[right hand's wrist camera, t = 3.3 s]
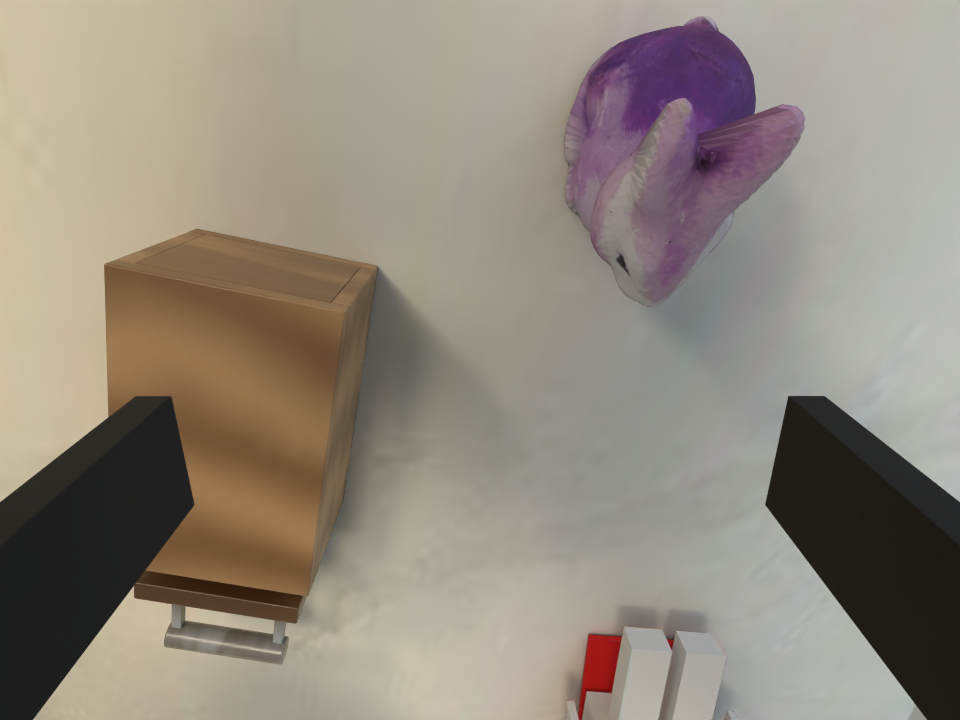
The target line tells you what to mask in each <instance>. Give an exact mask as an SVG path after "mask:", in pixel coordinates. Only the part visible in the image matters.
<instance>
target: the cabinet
mask: <svg viewBox="0 0 960 720" xmlns="http://www.w3.org/2000/svg"><path fill="white" fill-rule="evenodd" d="M377 269H378V266H375V265H370V264H365V263H360V262H355V261H350V260H345V259H341V258H336V257H331V256H326V255H321V254H316V253H311V252H307V251H302V250H297V249H292V248H287V247H282V246H277V245H273V244H268V243H263V242H258V241H253V240H248V239H243V238H239V237H234V236H229V235H224V234H219V233H214V232H209V231H204V230H200V229H195V230H192V231H190V232H188V233H185V234H183V235H180V236H177V237H175V238H172V239H169V240H167V241H164V242H161V243H159V244H156V245H154V246H151V247H148V248H146V249H143V250H140V251H138V252H135V253H132V254H130V255H127V256H124V257H122V258H119V259H117V260H114V261H111V262H109V263H106V264H105V265H104V272H105V308H106V343H107V379H108V414H109V417H110V416H111V415H112V414H113V413H115V412H116V411H117V410H119V409H120V408H121V407H122V406H124V405H125V404H126V403H127V402H129V401H130V400H131V399H133V398H134V397H135V396H172V401H173V405H174V410H175V415H176V419H177V424H178V429H179V433H180V438H181V443H182V448H183V452H184V457H185V462H186V466H187V471H188V476H189V480H190V485H191V490H192V495H193V499H194V504H195V505H194V506H193V508H192V509H191V510H190V512H189V513H188V514H187V516H186V517H185V518H184V520H183V521H182V522H181V524H180V525H179V526H178V528H177V529H176V530H175V532H174V533H173V534H172V536H171V537H170V538H169V540H168V541H167V542H166V544H165V545H164V546H163V548H162V549H161V550H160V552H159V553H158V554H157V556H156V557H155V558H154V560H153V561H152V562H151V564H150V565H149V566H148V568H147V569H146V571H152V572H159V573H165V574H171V575H177V576H183V577H190V578H196V579H202V580H208V581H214V582H221V583H227V584H233V585H239V586H245V587H252V588H258V589H264V590H270V591H276V592H283V593H289V594H295V595H301V596H308V595H309V593H310V590H311V587H312V584H313V582H314V579H315V576H316V573H317V571H318V568H319V565H320V562H321V560H322V557H323V554H324V551H325V549H326V546H327V543H328V540H329V538H330V535H331V532H332V529H333V527H334V524H335V521H336V518H337V516H338V513H339V510H340V507H341V505H342V502H343V499H344V492H345V485H346V478H347V472H348V465H349V458H350V451H351V445H352V438H353V431H354V424H355V418H356V411H357V404H358V397H359V391H360V384H361V377H362V370H363V364H364V357H365V350H366V343H367V337H368V330H369V323H370V316H371V310H372V303H373V296H374V289H375V283H376V276H377Z"/></svg>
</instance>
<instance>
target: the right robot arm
mask: <svg viewBox="0 0 960 720" xmlns="http://www.w3.org/2000/svg"><path fill="white" fill-rule="evenodd" d="M194 505H195V504H194V499H193V495H192V490H191V485H190V480H189V476H188V471H187V466H186V462H185V457H184V452H183V448H182V443H181V438H180V433H179V429H178V424H177V419H176V415H175V410H174V405H173V401H172V396H135V397H134V398H133V399H131V400H130V401H129V402H127V403H126V404H125V405H124V406H122V407H121V408H120V409H119V410H117V411H116V412H115V413H113V414H112V415H111V416H110V417H108V418H107V419H106V420H105V421H103V422H102V423H101V424H99V425H98V426H97V427H96V428H94V429H93V430H92V431H90V432H89V433H88V434H87V435H85V436H84V437H83V438H82V439H80V440H79V441H78V442H76V443H75V444H74V445H73V446H71V447H70V448H69V449H68V450H66V451H65V452H64V453H62V454H61V455H60V456H59V457H57V458H56V459H55V460H53V461H52V462H51V463H50V464H48V465H47V466H46V467H45V468H43V469H42V470H41V471H39V472H38V473H37V474H36V475H34V476H33V477H32V478H31V479H29V480H28V481H27V482H25V483H24V484H23V485H22V486H20V487H19V488H18V489H16V490H15V491H14V492H13V493H11V494H10V495H9V496H8V497H6V498H5V499H4V500H2V501H1V502H0V720H33V719H34V718H35V716H36V715H37V714H38V712H39V711H40V710H41V708H42V707H43V706H44V704H45V703H46V702H47V700H48V699H49V698H50V696H51V695H52V694H53V692H54V691H55V690H56V688H57V687H58V686H59V684H60V683H61V682H62V680H63V679H64V678H65V676H66V675H67V674H68V672H69V671H70V670H71V668H72V667H73V666H74V664H75V663H76V662H77V660H78V659H79V658H80V656H81V655H82V654H83V652H84V651H85V650H86V648H87V647H88V646H89V644H90V643H91V642H92V641H93V639H94V638H95V637H96V635H97V634H98V633H99V631H100V630H101V629H102V627H103V626H104V625H105V623H106V622H107V621H108V619H109V618H110V617H111V615H112V614H113V613H114V611H115V610H116V609H117V607H118V606H119V605H120V603H121V602H122V601H123V599H124V598H125V597H126V595H127V594H128V593H129V591H130V590H131V589H132V587H133V586H134V585H135V583H136V582H137V581H138V579H139V578H140V577H141V575H142V574H143V573H144V571H145V570H146V569H147V568H148V566H149V565H150V564H151V562H152V561H153V560H154V558H155V557H156V556H157V554H158V553H159V552H160V550H161V549H162V548H163V546H164V545H165V544H166V542H167V541H168V540H169V538H170V537H171V536H172V534H173V533H174V532H175V530H176V529H177V528H178V526H179V525H180V524H181V522H182V521H183V520H184V518H185V517H186V516H187V514H188V513H189V512H190V510H191V509H192V508H193V506H194ZM765 505H766V506H767V508H768V509H769V510H770V512H771V513H772V514H773V516H774V517H775V518H776V520H777V521H778V522H779V524H780V525H781V526H782V528H783V529H784V530H785V532H786V533H787V534H788V536H789V537H790V538H791V540H792V541H793V542H794V544H795V545H796V546H797V548H798V549H799V550H800V552H801V553H802V554H803V556H804V557H805V558H806V560H807V561H808V562H809V564H810V565H811V566H812V568H813V569H814V570H815V571H816V573H817V574H818V575H819V577H820V578H821V579H822V581H823V582H824V583H825V585H826V586H827V587H828V589H829V590H830V591H831V593H832V594H833V595H834V597H835V598H836V599H837V601H838V602H839V603H840V605H841V606H842V607H843V609H844V610H845V611H846V613H847V614H848V615H849V617H850V618H851V619H852V621H853V622H854V623H855V625H856V626H857V627H858V629H859V630H860V631H861V633H862V634H863V635H864V637H865V638H866V639H867V641H868V642H869V643H870V644H871V646H872V647H873V648H874V650H875V651H876V652H877V654H878V655H879V656H880V658H881V659H882V660H883V662H884V663H885V664H886V666H887V667H888V668H889V670H890V671H891V672H892V674H893V675H894V676H895V678H896V679H897V680H898V682H899V683H900V684H901V686H902V687H903V688H904V690H905V691H906V692H907V694H908V695H909V696H910V698H911V699H912V700H913V702H914V703H915V704H916V706H917V707H918V708H919V709H920V711H921V712H922V714H923V715H924V716H925V718H926V719H927V720H960V502H959V501H958V500H956V499H955V498H954V497H952V496H951V495H950V494H949V493H947V492H946V491H945V490H944V489H942V488H941V487H940V486H938V485H937V484H936V483H935V482H933V481H932V480H931V479H929V478H928V477H927V476H926V475H924V474H923V473H922V472H921V471H919V470H918V469H917V468H915V467H914V466H913V465H912V464H910V463H909V462H908V461H907V460H905V459H904V458H903V457H901V456H900V455H899V454H898V453H896V452H895V451H894V450H892V449H891V448H890V447H889V446H887V445H886V444H885V443H884V442H882V441H881V440H880V439H878V438H877V437H876V436H875V435H873V434H872V433H871V432H870V431H868V430H867V429H866V428H864V427H863V426H862V425H861V424H859V423H858V422H857V421H855V420H854V419H853V418H852V417H850V416H849V415H848V414H847V413H845V412H844V411H843V410H841V409H840V408H839V407H838V406H836V405H835V404H834V403H833V402H831V401H830V400H829V399H827V398H826V397H825V396H788V401H787V405H786V410H785V415H784V419H783V424H782V429H781V433H780V438H779V443H778V448H777V452H776V457H775V462H774V466H773V471H772V476H771V480H770V485H769V490H768V495H767V499H766V504H765Z"/></svg>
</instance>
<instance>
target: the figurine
mask: <svg viewBox="0 0 960 720" xmlns="http://www.w3.org/2000/svg"><path fill="white" fill-rule="evenodd" d="M755 103H756V97H755V86H754V77H753V74H752V71H751V69H750V66H749V64H748V62H747V60H746V58H745V57H744V55H743V54H742V52H741V51H740V49H739V48H738V47H737V46H736V45H735V44H734V43H733V42H732V41H731V40H730V39H729V38H728V37H726V36H725V35H723V34H722V33H720V32H719V30H718V28H717V25H716V23H715V22H714V21H713V20H712V19H711V18H710V17H705V16H702V17H697V18H694V19H691V20H690V21H688V22H687V23H686V24H685V25H684V26H677V27H671V28H666V29H662V30H657V31H653V32H649V33H645V34H642V35H639V36H636V37H633V38H630V39H627V40H625V41H623V42H620V43H618V44H617V45H616V46H614V47H612V48H610V49H609V50H608V51H606V52H605V53H604V54H603V55H602V56H601V57H600V58H599V59H598V60H597V61H596V62H595V63H594V64H593V65H592V66H591V68H590V69H589V71H588V73H587V75H586V76H585V78H584V80H583V82H582V84H581V87H580V89H579V92H578V94H577V97H576V100H575V102H574V105H573V108H572V110H571V113H570V116H569V120H568V124H567V129H566V132H565V138H564V144H565V158H566V162H568V163H569V169H568V177H567V184H566V189H565V196H566V201H567V204H568V206H569V208H572V210H573V211H574V212H575V213H577V214H579V216H580V218H581V220H582V222H583V224H584V226H585V227H586V229H587V230H588V231H589V232H591V241H592V244H593V247H594V249H595V250H596V252H597V253H598V255H599V256H600V257H601V258H602V259H603V260H604V261H606V262H607V263H608V264H609V265H610V266H611V268H612V270H613V273H614V276H615V279H616V281H617V284H618V286H619V288H620V289H621V291H622V292H623V293H624V294H625V295H626V296H628V297H629V298H631V299H632V300H634V301H637V302H639V303H641V304H643V305H645V306H647V307H654V306H658V305H660V304H661V303H663V302H664V301H666V300H667V299H668V298H669V297H670V296H671V294H672V293H673V292H674V291H675V290H676V289H677V288H678V287H680V286H681V285H682V283H683V282H684V281H685V280H686V279H687V278H688V277H689V276H690V274H691V273H692V272H693V271H694V270H695V269H696V268H697V266H698V265H699V264H700V263H701V262H702V261H703V260H704V258H705V257H706V256H707V255H708V254H709V253H710V252H711V251H712V250H713V249H714V248H715V247H716V246H717V245H718V243H719V242H720V241H721V240H722V238H723V237H724V236H725V235H726V233H727V232H728V230H729V228H730V225H731V222H732V217H733V211H734V210H736V209H737V208H738V206H739V205H740V204H741V203H743V202H744V201H746V200H747V199H748V198H749V197H750V196H751V195H752V194H753V193H755V192H756V191H757V190H758V189H759V187H760V186H762V185H763V184H764V183H765V182H766V181H767V180H768V179H769V178H770V176H771V175H772V174H773V173H774V172H775V171H777V170H778V169H779V168H780V166H781V165H782V164H783V162H784V161H785V160H786V159H787V158H788V157H789V156H790V155H791V152H792V151H793V149H794V148H795V147H796V146H797V144H798V142H799V140H800V137H801V134H802V132H803V130H804V121H805V117H804V115H803V112H802V111H801V110H800V109H799V108H798V107H797V106H790V105H784V104H782V105H779V106H777V107H774V108H771V109H768V110H765V111H763V112H760V113H757V114H754V112H755Z"/></svg>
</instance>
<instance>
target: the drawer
mask: <svg viewBox="0 0 960 720" xmlns="http://www.w3.org/2000/svg"><path fill="white" fill-rule="evenodd" d="M306 597H307V596H301V595H295V594H289V593H283V592H276V591H270V590H264V589H258V588H252V587H245V586H239V585H233V584H227V583H221V582H214V581H208V580H202V579H196V578H190V577H183V576H177V575H171V574H165V573H159V572H152V571H146V570H145V571H144V573H143V574H142V575H141V577H140V578H139V579H138V581H137V582H136V583H135V585H134V598H137V599H143V600H149V601H156V602H162V603H168V604H172V622H171V624H170V625H169V627H168V629H167V632H166V635H165V639H164V646H165V647H168V648H175V649H181V650H188V651H195V652H201V653H208V654H214V655H221V656H227V657H234V658H241V659H247V660H254V661H260V662H267V663H274V664H282V663H283V661H284V658H285V655H286V652H287V648H288V643H289V637H288V636H285V628H286V622H289V623H297V621H298V619H299V616H300V613H301V611H302V608H303V605H304V602H305V600H306ZM185 606H187V607H194V608H200V609H206V610H213V611H219V612H226V613H232V614H238V615H245V616H251V617H257V618H264V619H270V620H275V624H274V634H268V633H262V632H256V631H249V630H243V629H236V628H230V627H223V626H217V625H211V624H204V623H198V622H191V621H185Z"/></svg>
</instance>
